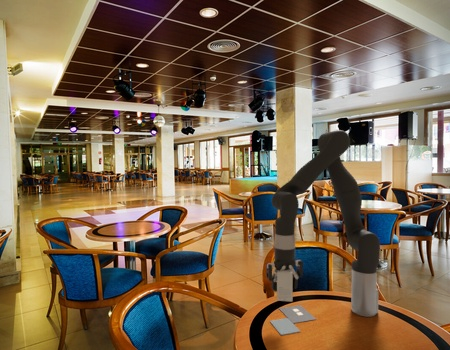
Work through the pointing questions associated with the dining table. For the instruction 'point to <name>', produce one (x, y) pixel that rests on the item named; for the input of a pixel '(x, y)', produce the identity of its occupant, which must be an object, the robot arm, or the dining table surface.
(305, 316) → the tile
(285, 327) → the pad
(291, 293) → the small box
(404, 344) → the dining table surface
